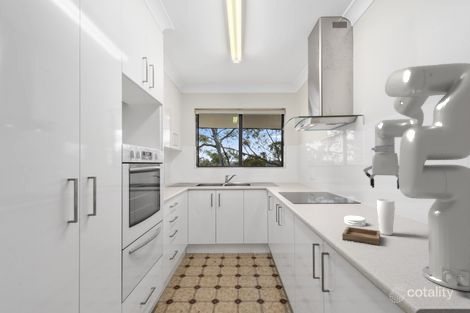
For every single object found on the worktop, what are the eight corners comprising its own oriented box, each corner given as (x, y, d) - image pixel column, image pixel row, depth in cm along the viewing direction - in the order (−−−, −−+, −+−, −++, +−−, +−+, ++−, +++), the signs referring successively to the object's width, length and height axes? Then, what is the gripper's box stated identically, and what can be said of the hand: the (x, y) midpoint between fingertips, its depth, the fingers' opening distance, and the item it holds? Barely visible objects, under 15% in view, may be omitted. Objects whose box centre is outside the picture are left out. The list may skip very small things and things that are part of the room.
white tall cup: (397, 236, 104) (397, 201, 105) (380, 235, 106) (380, 201, 106) (391, 232, 111) (390, 199, 111) (375, 231, 112) (374, 199, 113)
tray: (378, 245, 93) (378, 239, 93) (342, 239, 100) (342, 233, 100) (380, 236, 104) (380, 231, 104) (347, 232, 111) (347, 226, 111)
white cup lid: (360, 222, 131) (360, 215, 131) (369, 227, 121) (369, 219, 121) (341, 221, 132) (341, 215, 132) (348, 226, 122) (348, 219, 122)
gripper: (362, 150, 111) (362, 187, 110) (408, 149, 101) (409, 190, 101) (364, 150, 117) (364, 186, 117) (407, 149, 108) (408, 188, 107)
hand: (385, 188), depth 109 cm, fingers open, 9 cm apart
